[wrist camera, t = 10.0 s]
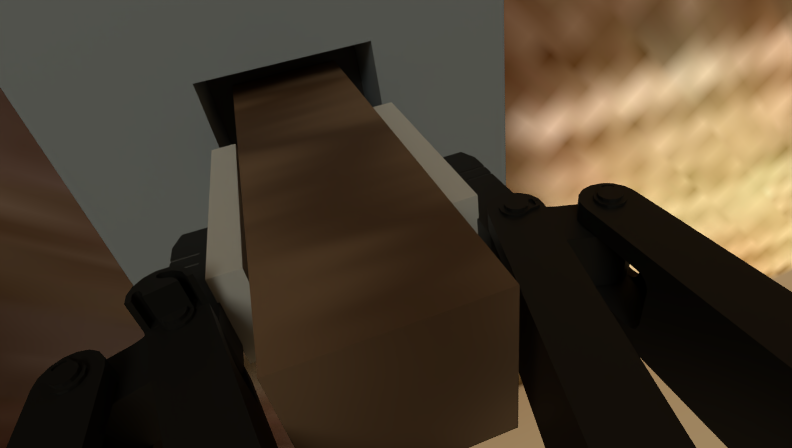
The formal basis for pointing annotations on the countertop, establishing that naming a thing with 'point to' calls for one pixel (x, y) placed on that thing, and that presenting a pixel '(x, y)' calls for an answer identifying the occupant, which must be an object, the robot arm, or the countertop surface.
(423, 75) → the socket plate
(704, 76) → the countertop surface
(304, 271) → the wooden square peg
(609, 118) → the countertop surface
